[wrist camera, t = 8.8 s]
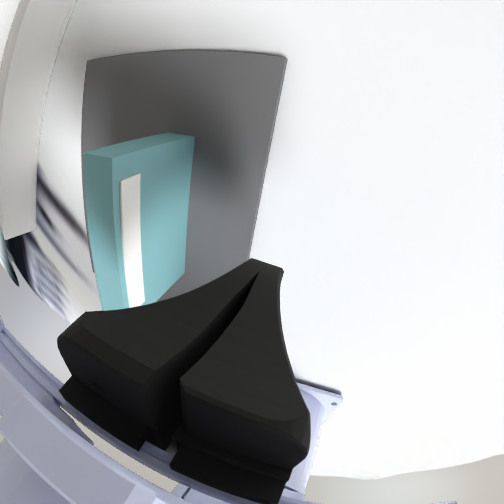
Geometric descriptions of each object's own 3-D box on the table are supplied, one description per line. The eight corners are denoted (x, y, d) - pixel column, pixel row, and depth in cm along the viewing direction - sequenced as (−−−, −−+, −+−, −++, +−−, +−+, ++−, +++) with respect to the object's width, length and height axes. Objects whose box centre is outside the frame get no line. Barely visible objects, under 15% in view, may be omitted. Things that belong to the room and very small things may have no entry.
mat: (234, 332, 20) (232, 335, 20) (96, 269, 23) (93, 272, 23) (287, 58, 11) (285, 57, 11) (91, 60, 14) (87, 60, 14)
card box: (186, 273, 19) (129, 331, 14) (162, 263, 19) (104, 317, 14) (196, 136, 14) (114, 158, 9) (168, 132, 14) (83, 153, 9)
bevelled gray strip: (21, 185, 28) (40, 228, 25) (-8, 193, 24) (4, 240, 21) (94, -67, 9) (135, -88, 6) (58, -72, 5) (89, -100, 2)
